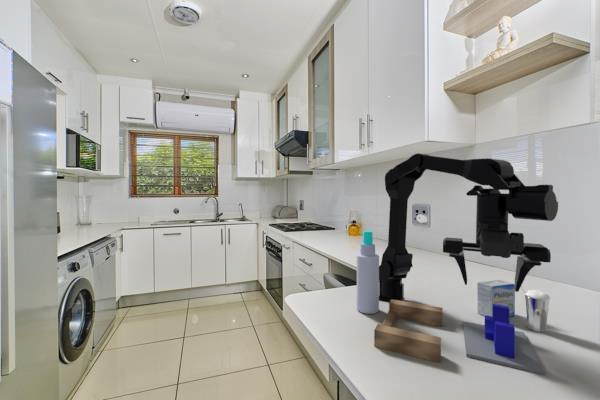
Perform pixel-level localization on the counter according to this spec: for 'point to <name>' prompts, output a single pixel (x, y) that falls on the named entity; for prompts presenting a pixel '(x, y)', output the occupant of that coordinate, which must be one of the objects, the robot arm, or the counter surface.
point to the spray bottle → (367, 276)
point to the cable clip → (500, 331)
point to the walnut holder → (406, 339)
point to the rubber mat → (486, 351)
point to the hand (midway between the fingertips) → (490, 287)
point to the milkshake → (537, 309)
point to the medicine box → (495, 296)
